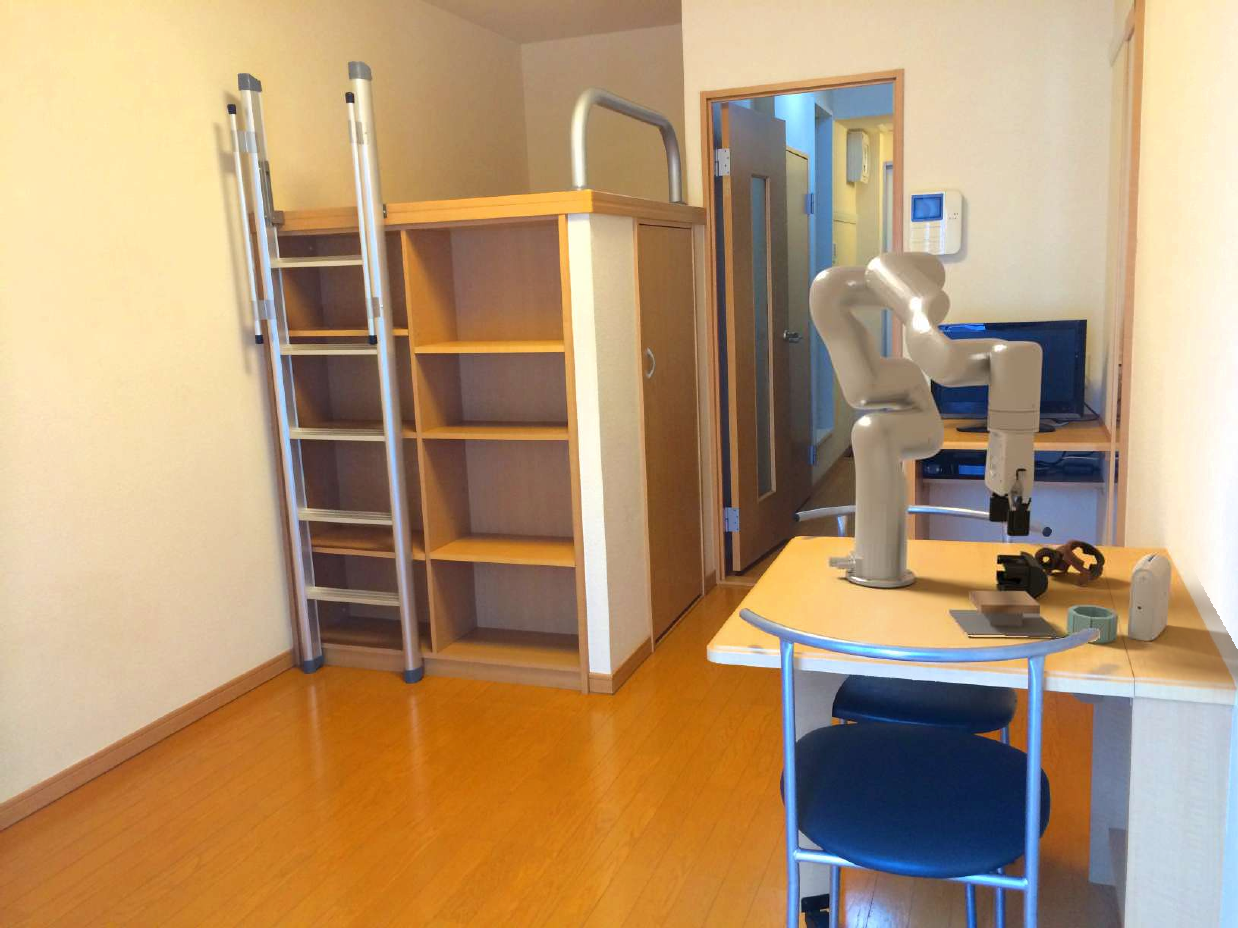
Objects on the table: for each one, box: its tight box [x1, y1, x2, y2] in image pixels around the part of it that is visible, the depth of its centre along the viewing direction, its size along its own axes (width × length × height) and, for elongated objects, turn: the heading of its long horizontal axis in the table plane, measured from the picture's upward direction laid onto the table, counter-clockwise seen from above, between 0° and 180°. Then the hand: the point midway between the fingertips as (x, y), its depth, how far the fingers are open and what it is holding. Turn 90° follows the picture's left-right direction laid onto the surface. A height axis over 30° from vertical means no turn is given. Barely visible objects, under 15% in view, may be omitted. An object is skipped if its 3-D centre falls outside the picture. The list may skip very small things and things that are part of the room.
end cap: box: [995, 550, 1050, 601], centre depth 179 cm, size 10×7×7 cm
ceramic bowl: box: [1066, 604, 1119, 645], centre depth 158 cm, size 7×7×4 cm
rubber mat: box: [948, 609, 1061, 639], centre depth 164 cm, size 14×12×3 cm
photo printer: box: [1127, 552, 1172, 642], centre depth 159 cm, size 10×4×12 cm, turn 140°
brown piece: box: [1033, 539, 1106, 586], centre depth 188 cm, size 12×10×8 cm
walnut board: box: [968, 590, 1041, 614], centre depth 163 cm, size 9×7×1 cm
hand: (1008, 528), depth 161 cm, fingers open, 9 cm apart
